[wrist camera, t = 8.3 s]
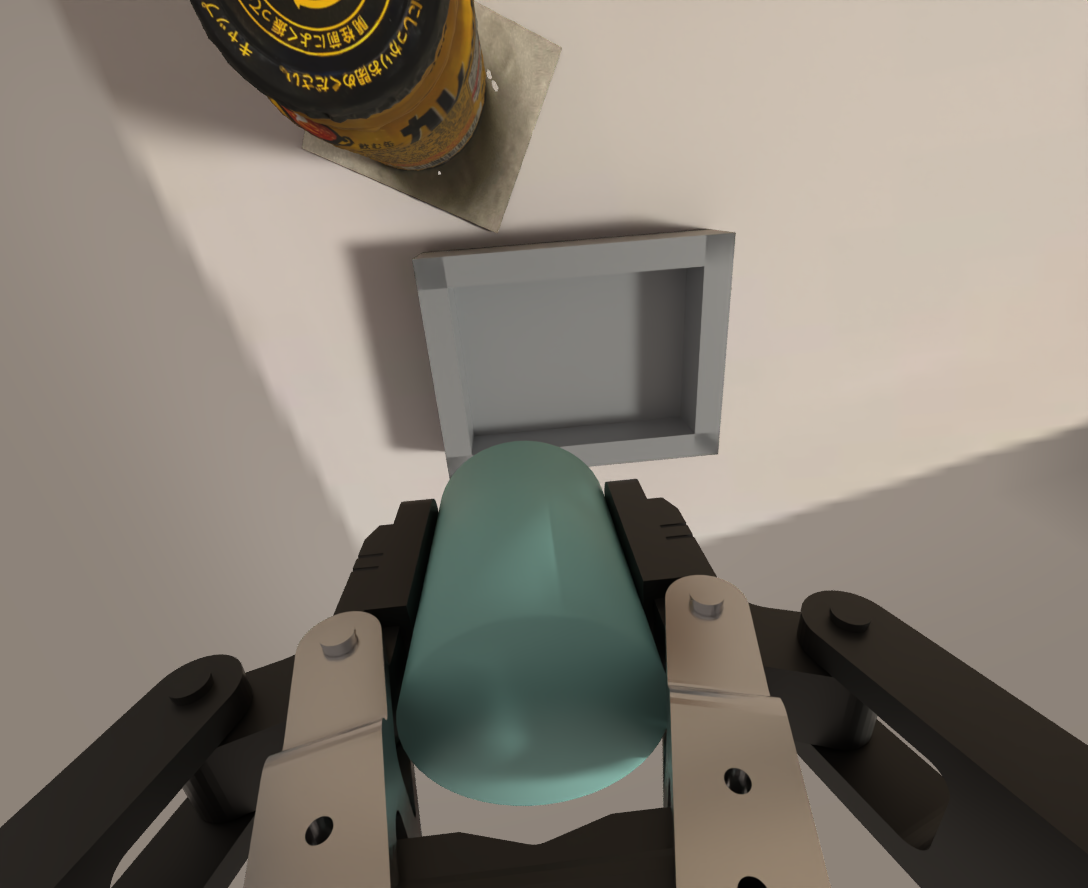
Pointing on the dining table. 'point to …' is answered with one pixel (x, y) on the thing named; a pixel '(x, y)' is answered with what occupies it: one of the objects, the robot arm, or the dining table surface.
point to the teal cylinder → (529, 638)
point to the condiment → (398, 89)
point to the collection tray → (581, 344)
